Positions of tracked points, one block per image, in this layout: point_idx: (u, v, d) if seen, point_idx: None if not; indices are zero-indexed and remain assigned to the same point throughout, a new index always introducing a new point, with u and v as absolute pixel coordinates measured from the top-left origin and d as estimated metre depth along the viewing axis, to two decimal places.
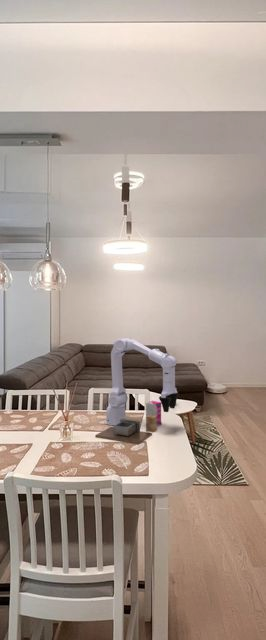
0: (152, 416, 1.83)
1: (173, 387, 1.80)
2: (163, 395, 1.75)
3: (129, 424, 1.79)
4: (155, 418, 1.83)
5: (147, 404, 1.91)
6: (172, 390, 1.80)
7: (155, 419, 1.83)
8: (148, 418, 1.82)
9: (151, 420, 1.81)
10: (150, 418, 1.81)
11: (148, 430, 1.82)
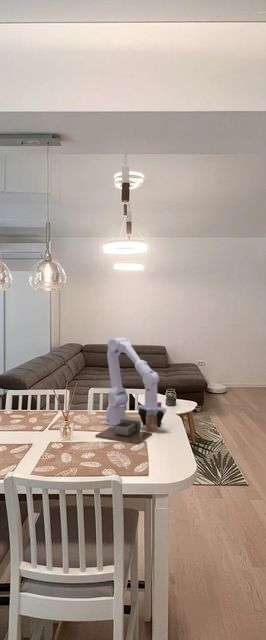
0: (152, 416, 1.83)
1: (147, 403, 1.81)
2: None
3: (129, 424, 1.79)
4: (155, 418, 1.83)
5: None
6: (146, 406, 1.82)
7: (155, 419, 1.83)
8: (148, 418, 1.82)
9: (151, 420, 1.81)
10: (150, 418, 1.81)
11: (148, 430, 1.82)
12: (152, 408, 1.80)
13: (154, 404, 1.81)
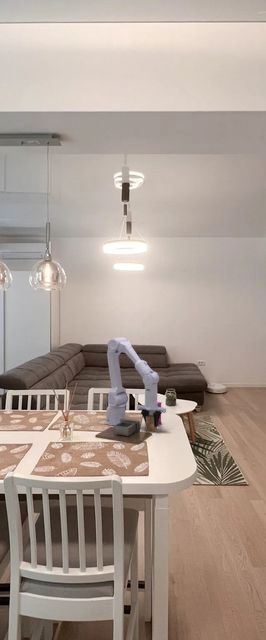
0: (152, 416, 1.83)
1: (147, 403, 1.81)
2: None
3: (129, 424, 1.79)
4: None
5: None
6: (146, 406, 1.82)
7: None
8: (148, 418, 1.82)
9: (151, 420, 1.81)
10: (150, 418, 1.81)
11: (148, 430, 1.82)
12: (152, 408, 1.80)
13: (154, 404, 1.81)
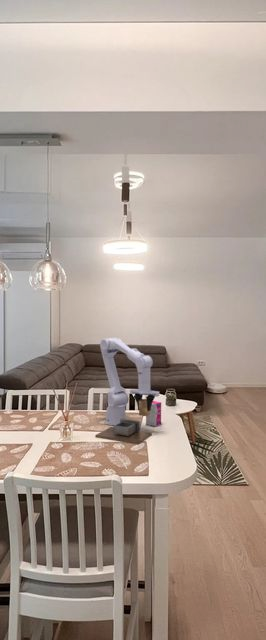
0: (145, 400, 1.81)
1: (140, 387, 1.79)
2: None
3: (129, 424, 1.79)
4: None
5: None
6: (139, 390, 1.80)
7: None
8: (141, 402, 1.80)
9: (144, 404, 1.79)
10: (143, 402, 1.79)
11: (141, 414, 1.80)
12: (145, 392, 1.78)
13: (147, 388, 1.79)
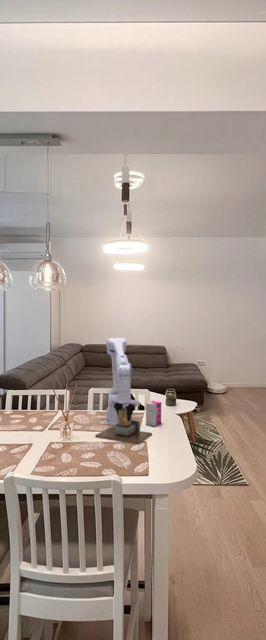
0: (125, 409, 1.76)
1: (120, 396, 1.74)
2: None
3: None
4: None
5: (147, 404, 1.91)
6: (119, 399, 1.75)
7: None
8: (121, 411, 1.75)
9: (124, 414, 1.74)
10: (123, 411, 1.74)
11: (121, 424, 1.75)
12: (125, 401, 1.73)
13: (127, 397, 1.74)
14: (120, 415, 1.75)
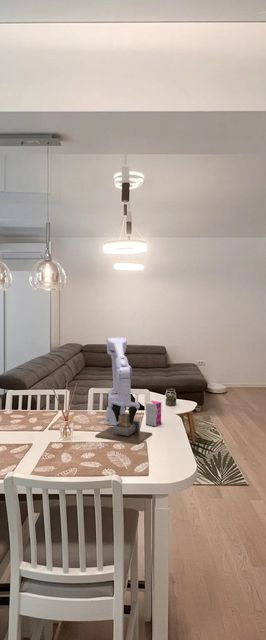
0: (125, 415, 1.76)
1: (120, 399, 1.74)
2: None
3: None
4: (128, 417, 1.76)
5: (147, 404, 1.91)
6: (119, 401, 1.75)
7: (128, 418, 1.76)
8: (121, 417, 1.75)
9: (124, 419, 1.74)
10: (123, 417, 1.74)
11: None
12: (125, 403, 1.73)
13: (127, 399, 1.74)
14: (120, 420, 1.75)
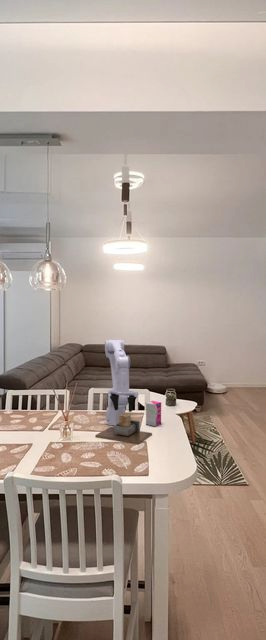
0: (125, 415, 1.76)
1: (118, 387, 1.79)
2: None
3: None
4: (128, 417, 1.76)
5: (147, 404, 1.91)
6: (117, 390, 1.79)
7: (128, 418, 1.76)
8: (121, 417, 1.75)
9: (124, 419, 1.74)
10: (123, 417, 1.74)
11: None
12: (123, 392, 1.78)
13: (125, 388, 1.78)
14: (120, 420, 1.75)
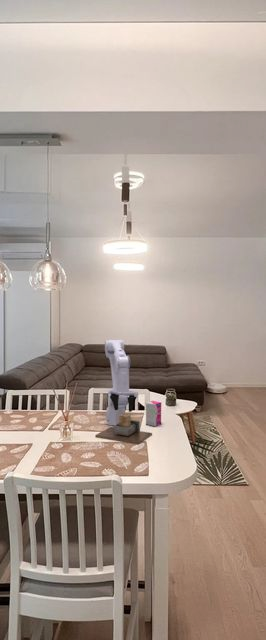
0: (125, 415, 1.76)
1: (118, 387, 1.79)
2: None
3: None
4: (128, 417, 1.76)
5: (147, 404, 1.91)
6: (117, 390, 1.79)
7: (128, 418, 1.76)
8: (121, 417, 1.75)
9: (124, 419, 1.74)
10: (123, 417, 1.74)
11: None
12: (123, 392, 1.78)
13: (125, 388, 1.78)
14: (120, 420, 1.75)
